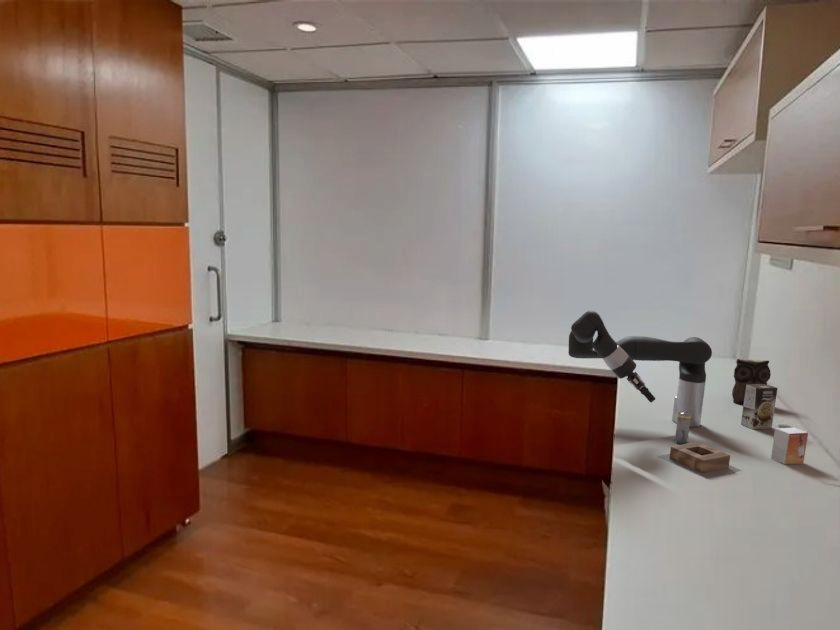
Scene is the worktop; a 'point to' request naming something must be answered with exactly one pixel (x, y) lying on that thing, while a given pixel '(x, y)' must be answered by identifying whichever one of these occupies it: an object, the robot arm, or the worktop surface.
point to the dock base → (705, 475)
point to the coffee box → (759, 406)
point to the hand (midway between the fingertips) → (650, 397)
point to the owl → (748, 377)
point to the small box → (789, 445)
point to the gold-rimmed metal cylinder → (682, 427)
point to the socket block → (699, 457)
